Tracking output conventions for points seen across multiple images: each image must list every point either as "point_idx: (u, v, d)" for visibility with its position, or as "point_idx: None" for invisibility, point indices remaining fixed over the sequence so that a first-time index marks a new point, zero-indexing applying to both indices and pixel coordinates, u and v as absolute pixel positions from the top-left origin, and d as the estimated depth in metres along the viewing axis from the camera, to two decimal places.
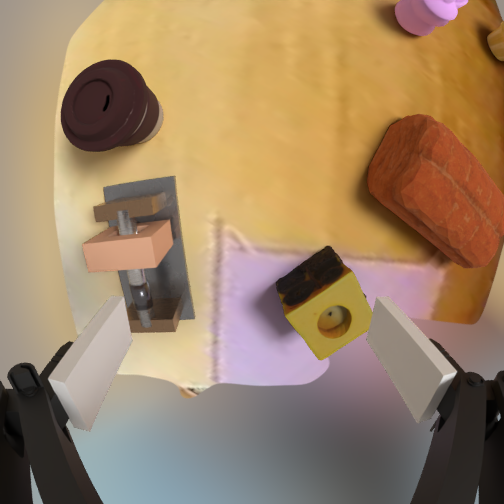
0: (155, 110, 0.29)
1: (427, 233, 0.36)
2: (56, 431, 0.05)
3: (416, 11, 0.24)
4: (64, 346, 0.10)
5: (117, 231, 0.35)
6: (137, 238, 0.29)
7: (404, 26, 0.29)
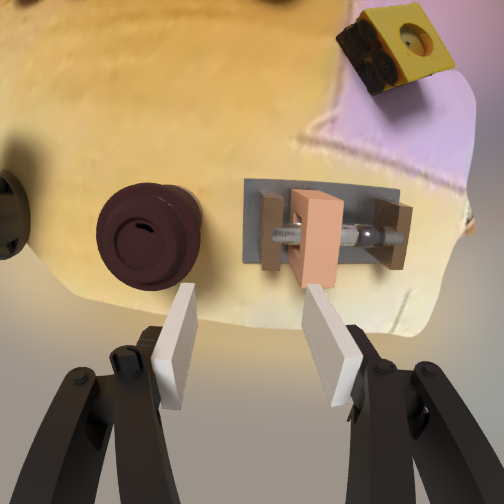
0: (166, 185, 0.29)
1: None
2: (154, 418, 0.07)
3: None
4: (146, 331, 0.12)
5: (294, 248, 0.34)
6: (308, 216, 0.27)
7: None
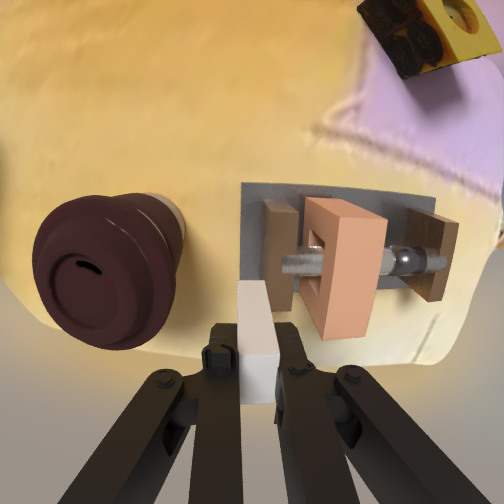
0: (132, 195, 0.20)
1: None
2: (239, 418, 0.07)
3: None
4: (215, 328, 0.12)
5: (309, 279, 0.25)
6: (337, 242, 0.18)
7: None
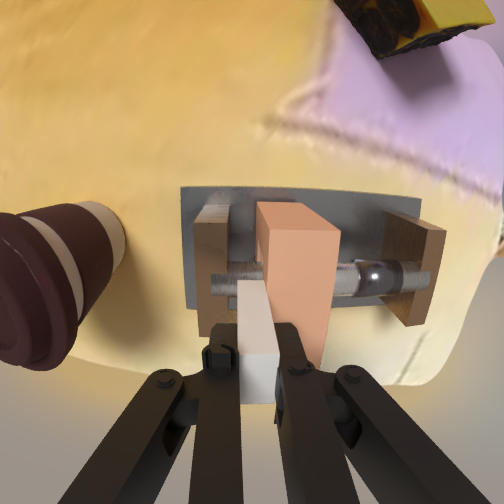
0: (55, 206, 0.16)
1: None
2: (239, 418, 0.07)
3: None
4: (215, 328, 0.12)
5: None
6: (269, 261, 0.14)
7: None
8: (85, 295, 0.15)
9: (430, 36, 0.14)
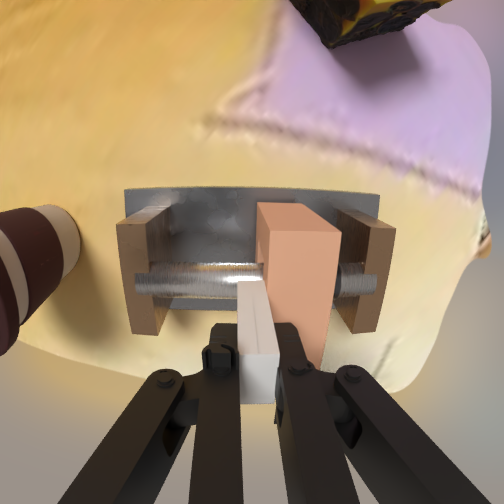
0: (12, 211, 0.16)
1: None
2: (239, 418, 0.07)
3: None
4: (215, 328, 0.12)
5: None
6: (269, 263, 0.14)
7: None
8: (29, 290, 0.15)
9: (380, 17, 0.14)
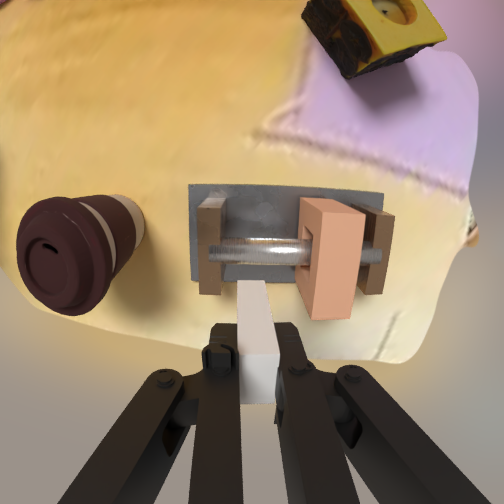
0: (93, 196, 0.24)
1: None
2: (239, 418, 0.07)
3: None
4: (215, 328, 0.12)
5: (303, 269, 0.28)
6: (321, 233, 0.21)
7: None
8: (117, 258, 0.22)
9: (386, 58, 0.21)
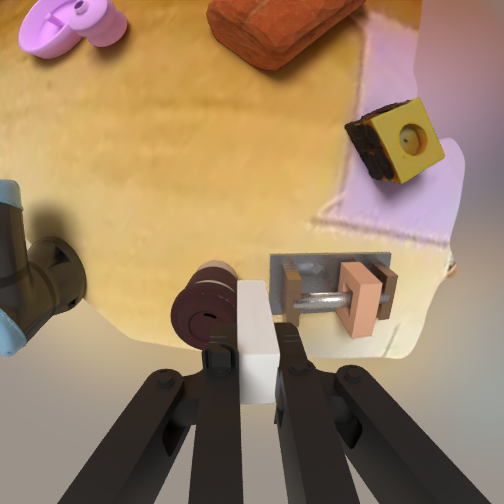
0: (215, 271, 0.41)
1: (324, 26, 0.31)
2: (239, 418, 0.07)
3: (103, 29, 0.28)
4: (215, 328, 0.12)
5: None
6: (359, 295, 0.38)
7: (120, 36, 0.33)
8: None
9: None
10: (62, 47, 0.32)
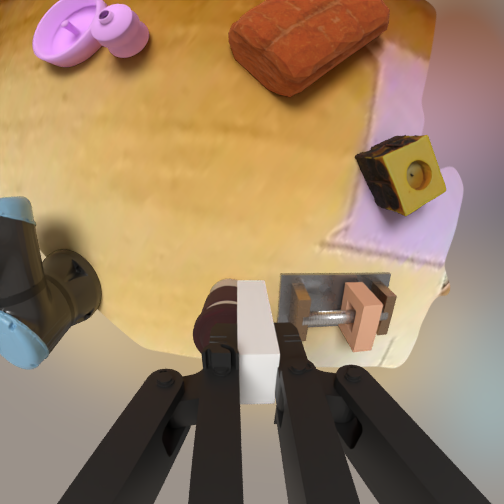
0: (232, 291, 0.44)
1: (341, 58, 0.34)
2: (239, 418, 0.07)
3: (127, 41, 0.31)
4: (215, 328, 0.12)
5: None
6: (362, 314, 0.42)
7: (142, 48, 0.36)
8: None
9: None
10: (80, 56, 0.34)
